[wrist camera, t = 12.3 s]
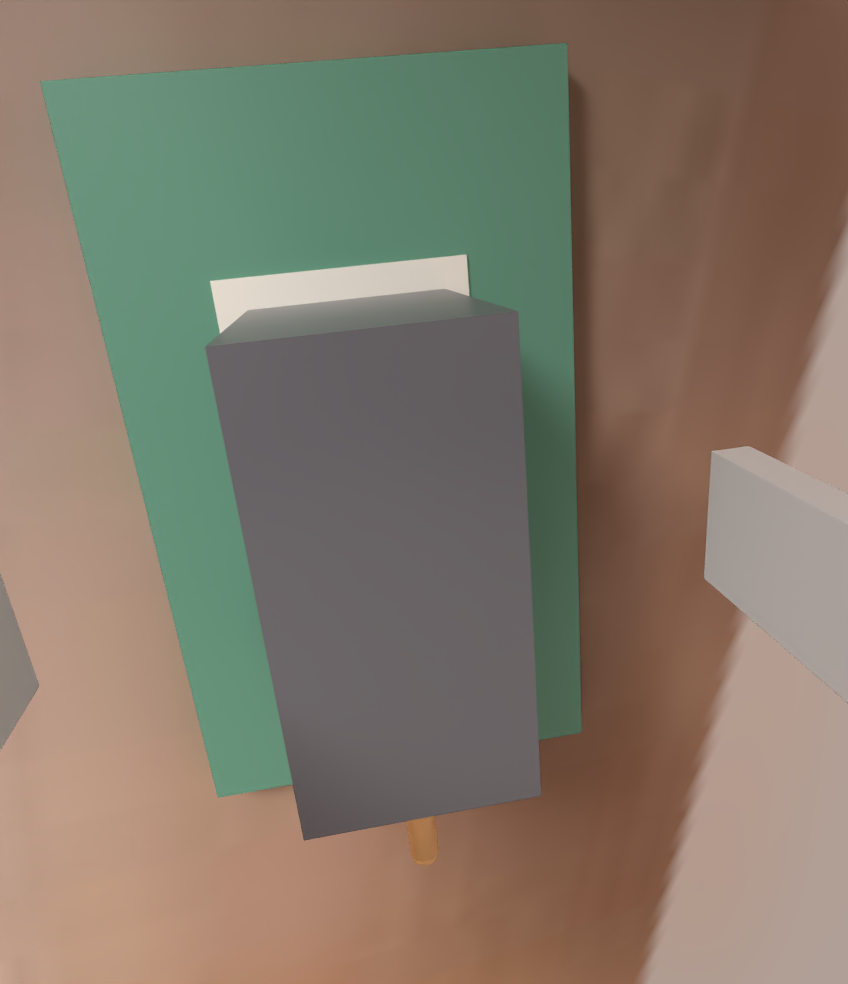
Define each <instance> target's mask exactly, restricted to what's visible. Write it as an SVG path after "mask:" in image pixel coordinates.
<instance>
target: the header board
mask: <svg viewBox="0 0 848 984" xmlns="http://www.w3.org/2000/svg"><path fill="white" fill-rule="evenodd" d="M40 83H41V87H42V91H43V95H44V99H45V104H46V108H47V112H48V116H49V120H50V124H51V128H52V132H53V136H54V140H55V144H56V148H57V152H58V156H59V160H60V164H61V168H62V172H63V176H64V180H65V184H66V188H67V192H68V196H69V200H70V204H71V208H72V212H73V216H74V220H75V224H76V228H77V232H78V236H79V240H80V244H81V248H82V252H83V256H84V261H85V265H86V269H87V273H88V277H89V281H90V285H91V289H92V293H93V297H94V301H95V305H96V309H97V313H98V317H99V321H100V325H101V329H102V333H103V337H104V341H105V345H106V349H107V353H108V357H109V361H110V365H111V369H112V373H113V377H114V381H115V385H116V389H117V393H118V397H119V401H120V405H121V409H122V414H123V418H124V422H125V426H126V430H127V434H128V438H129V442H130V446H131V450H132V454H133V458H134V462H135V466H136V470H137V474H138V478H139V482H140V486H141V490H142V494H143V498H144V502H145V506H146V510H147V514H148V518H149V522H150V526H151V530H152V534H153V538H154V542H155V546H156V550H157V554H158V558H159V562H160V566H161V571H162V575H163V579H164V583H165V587H166V591H167V595H168V599H169V603H170V607H171V611H172V615H173V619H174V623H175V627H176V631H177V635H178V639H179V643H180V647H181V651H182V655H183V659H184V663H185V667H186V671H187V675H188V679H189V683H190V687H191V691H192V695H193V699H194V703H195V707H196V711H197V715H198V719H199V724H200V728H201V732H202V736H203V740H204V744H205V748H206V752H207V756H208V760H209V764H210V768H211V772H212V776H213V780H214V784H215V788H216V792H217V796H218V798H219V797H224V796H230V795H236V794H241V793H247V792H252V791H258V790H263V789H269V788H275V787H280V786H286V785H291V784H293V783H292V778H291V773H290V768H289V763H288V759H287V754H286V749H285V744H284V739H283V734H282V729H281V724H280V719H279V714H278V709H277V704H276V699H275V694H274V689H273V684H272V679H271V674H270V669H269V664H268V659H267V654H266V649H265V644H264V639H263V634H262V629H261V624H260V619H259V614H258V609H257V604H256V599H255V594H254V589H253V584H252V579H251V574H250V569H249V564H248V559H247V554H246V549H245V544H244V539H243V534H242V529H241V524H240V519H239V514H238V509H237V504H236V499H235V494H234V489H233V485H232V480H231V475H230V470H229V465H228V460H227V455H226V450H225V445H224V440H223V435H222V430H221V425H220V420H219V415H218V410H217V405H216V400H215V395H214V390H213V385H212V380H211V375H210V370H209V365H208V360H207V355H206V350H205V346H206V345H208V344H209V343H210V342H211V341H212V340H213V339H215V338H216V337H217V336H218V335H219V334H220V333H222V332H223V331H224V330H225V329H226V328H227V327H229V326H230V325H231V324H232V323H233V322H234V321H236V320H237V319H238V318H239V317H240V316H241V315H243V314H244V313H245V312H246V311H247V310H254V309H263V308H272V307H281V306H290V305H300V304H309V303H318V302H327V301H336V300H346V299H355V298H364V297H373V296H382V295H391V294H401V293H410V292H419V291H428V290H437V289H448V290H451V291H454V292H457V293H461V294H464V295H467V296H470V297H474V298H477V299H480V300H483V301H487V302H490V303H493V304H496V305H500V306H503V307H506V308H509V309H513V310H516V311H518V313H519V334H520V356H521V377H522V398H523V419H524V440H525V462H526V483H527V504H528V525H529V546H530V568H531V589H532V610H533V631H534V652H535V674H536V695H537V716H538V737H539V740H543V739H549V738H554V737H560V736H566V735H571V734H577V733H582V725H581V676H580V627H579V578H578V530H577V481H576V432H575V384H574V335H573V286H572V237H571V189H570V140H569V91H568V43H558V44H544V45H530V46H517V47H503V48H489V49H475V50H462V51H448V52H434V53H420V54H407V55H393V56H379V57H365V58H352V59H338V60H324V61H310V62H297V63H283V64H269V65H255V66H242V67H228V68H214V69H200V70H187V71H173V72H159V73H145V74H132V75H118V76H104V77H90V78H77V79H63V80H49V81H40Z"/></svg>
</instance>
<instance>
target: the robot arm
mask: <svg viewBox="0 0 848 984" xmlns="http://www.w3.org/2000/svg"><path fill="white" fill-rule="evenodd" d="M704 579H705V580H707V581H708V582H709V583H710V584H711V585H712V586H713V587H715V588H716V589H717V590H718V591H719V592H720V593H722V594H723V595H724V596H725V597H726V598H727V599H728V600H730V601H731V602H732V603H733V604H734V605H735V606H736V607H738V608H739V609H740V610H741V611H742V612H743V613H745V614H746V615H747V616H748V617H749V618H750V619H751V620H753V621H754V622H755V623H756V624H757V625H758V626H760V627H761V628H762V629H763V630H764V631H765V632H766V633H768V634H769V635H770V636H771V637H772V638H773V639H775V640H776V641H777V642H778V643H779V644H780V645H781V646H783V647H784V648H785V649H786V650H787V651H788V652H789V653H790V654H792V655H793V656H794V657H795V658H796V659H797V660H799V661H800V662H801V663H802V664H803V665H804V666H805V667H807V668H808V669H809V670H810V671H811V672H812V673H814V674H815V675H816V676H817V677H818V678H819V679H820V680H821V681H823V682H824V683H825V684H826V685H827V686H828V687H830V688H831V689H832V690H833V691H834V692H835V693H837V694H838V695H839V696H840V697H841V698H842V699H843V700H845V701H846V702H847V703H848V493H846V492H844V491H842V490H840V489H837V488H835V487H833V486H831V485H829V484H827V483H825V482H822V481H821V480H819V479H816V478H815V477H812V476H810V475H808V474H806V473H804V472H802V471H800V470H798V469H796V468H794V467H792V466H789V465H787V464H785V463H783V462H781V461H779V460H777V459H775V458H773V457H771V456H769V455H767V454H764V453H762V452H760V451H758V450H756V449H754V448H752V447H750V446H745V447H738V448H731V449H724V450H717V451H712V452H711V469H710V486H709V503H708V520H707V536H706V553H705V570H704ZM38 687H39V683H38V680H37V678H36V675H35V672H34V669H33V666H32V663H31V660H30V657H29V655H28V652H27V649H26V646H25V643H24V640H23V637H22V634H21V632H20V629H19V626H18V623H17V620H16V617H15V614H14V612H13V609H12V606H11V603H10V600H9V597H8V594H7V591H6V589H5V586H4V583H3V580H2V577H1V574H0V750H1V749H2V747H3V745H4V744H5V742H6V740H7V739H8V737H9V735H10V734H11V732H12V730H13V729H14V727H15V726H16V724H17V722H18V721H19V719H20V717H21V716H22V714H23V712H24V711H25V709H26V707H27V706H28V704H29V702H30V701H31V699H32V697H33V696H34V694H35V692H36V691H37V689H38Z"/></svg>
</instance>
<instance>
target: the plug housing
mask: <svg viewBox="0 0 848 984" xmlns="http://www.w3.org/2000/svg"><path fill="white" fill-rule="evenodd" d="M205 350H206V355H207V360H208V365H209V370H210V375H211V380H212V385H213V390H214V395H215V400H216V405H217V410H218V415H219V420H220V425H221V430H222V435H223V440H224V445H225V450H226V455H227V460H228V465H229V470H230V475H231V480H232V485H233V489H234V494H235V499H236V504H237V509H238V514H239V519H240V524H241V529H242V534H243V539H244V544H245V549H246V554H247V559H248V564H249V569H250V574H251V579H252V584H253V589H254V594H255V599H256V604H257V609H258V614H259V619H260V624H261V629H262V634H263V639H264V644H265V649H266V654H267V659H268V664H269V669H270V674H271V679H272V684H273V689H274V694H275V699H276V704H277V709H278V714H279V719H280V724H281V729H282V734H283V739H284V744H285V749H286V754H287V759H288V763H289V768H290V773H291V778H292V783H293V788H294V793H295V798H296V803H297V808H298V813H299V818H300V823H301V828H302V833H303V838H304V840H309V839H314V838H320V837H325V836H330V835H335V834H341V833H346V832H351V831H357V830H362V829H367V828H373V827H378V826H383V825H389V824H394V823H399V822H405V821H407V829H408V836H409V844H410V851H411V855H412V858H413V860H414V861H415V862H416V863H417V864H419V865H423V866H427V865H430V864H432V863H433V862H434V861H435V860H436V858H437V856H438V851H439V848H438V840H437V831H436V822H435V816H437V815H442V814H447V813H453V812H458V811H463V810H469V809H474V808H479V807H485V806H490V805H495V804H501V803H506V802H511V801H517V800H522V799H527V798H533V797H538V796H541V780H540V759H539V737H538V716H537V695H536V674H535V652H534V631H533V610H532V589H531V568H530V546H529V525H528V504H527V483H526V462H525V440H524V419H523V398H522V377H521V356H520V334H519V313H518V311H516V310H513V309H509V308H506V307H503V306H500V305H496V304H493V303H490V302H487V301H483V300H480V299H477V298H474V297H470V296H467V295H464V294H461V293H457V292H454V291H451V290H448V289H437V290H428V291H419V292H410V293H401V294H391V295H382V296H373V297H364V298H355V299H346V300H336V301H327V302H318V303H309V304H300V305H290V306H281V307H272V308H263V309H254V310H247V311H246V312H245V313H244V314H243V315H241V316H240V317H239V318H238V319H237V320H236V321H234V322H233V323H232V324H231V325H230V326H229V327H227V328H226V329H225V330H224V331H223V332H222V333H220V334H219V335H218V336H217V337H216V338H215V339H213V340H212V341H211V342H210V343H209V344H208V345H206V346H205Z"/></svg>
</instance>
